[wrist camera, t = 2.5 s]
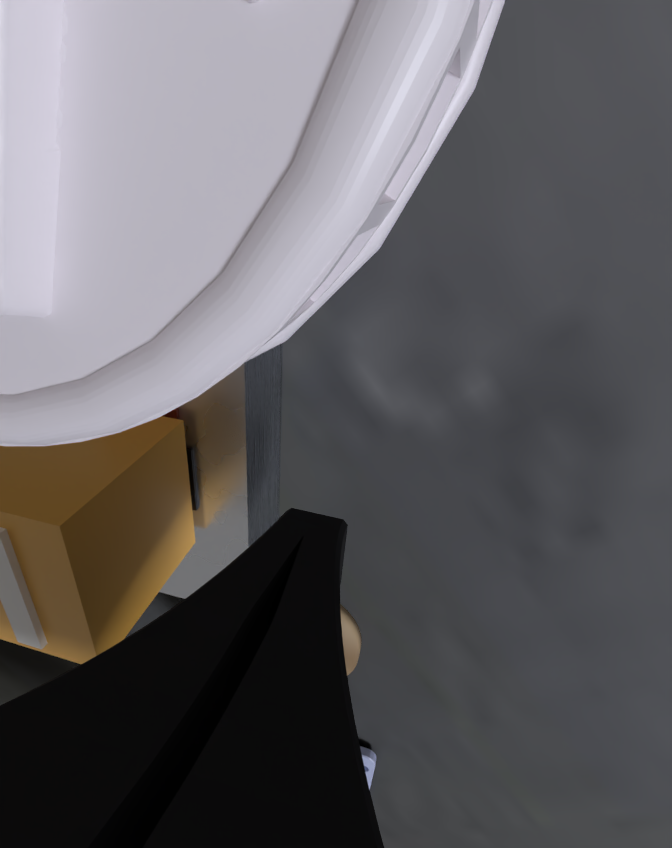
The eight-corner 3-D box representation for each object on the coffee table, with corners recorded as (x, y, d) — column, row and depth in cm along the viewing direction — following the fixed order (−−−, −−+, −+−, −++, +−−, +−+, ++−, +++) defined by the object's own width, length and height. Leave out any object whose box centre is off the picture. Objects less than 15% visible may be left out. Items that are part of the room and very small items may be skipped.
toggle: (195, 542, 13) (95, 676, 10) (103, 519, 14) (-24, 639, 10) (183, 420, 11) (52, 532, 8) (76, 399, 12) (-93, 495, 8)
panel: (277, 560, 17) (249, 618, 14) (-77, 473, 19) (-147, 511, 17) (282, 281, 12) (240, 304, 10) (-191, 218, 15) (-309, 225, 12)
